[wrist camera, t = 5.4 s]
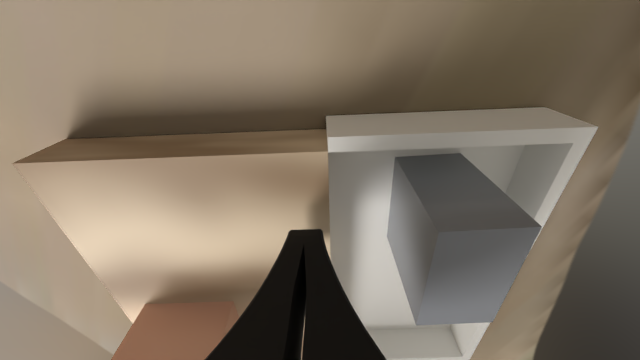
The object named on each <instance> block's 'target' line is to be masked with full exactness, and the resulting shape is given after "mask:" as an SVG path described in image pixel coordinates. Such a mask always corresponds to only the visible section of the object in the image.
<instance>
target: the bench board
mask: <svg viewBox="0 0 640 360" xmlns="http://www.w3.org/2000/svg"><path fill="white" fill-rule="evenodd" d="M12 164H13V165H14V167H15V168H16V169H17V171H18V172H19V173H20V175H21V176H22V177H23V179H24V180H25V181H26V183H27V184H28V185H29V187H30V188H31V189H32V191H33V192H34V193H35V195H36V196H37V197H38V199H39V200H40V201H41V203H42V204H43V205H44V207H45V208H46V209H47V210H48V212H49V213H50V214H51V216H52V217H53V218H54V220H55V221H56V222H57V224H58V225H59V226H60V228H61V229H62V230H63V232H64V233H65V234H66V236H67V237H68V238H69V240H70V241H71V242H72V244H73V245H74V246H75V248H76V249H77V250H78V252H79V253H80V254H81V256H82V257H83V258H84V260H85V261H86V262H87V264H88V265H89V266H90V267H91V269H92V270H93V271H94V273H95V274H96V275H97V277H98V278H99V279H100V281H101V282H102V283H103V285H104V286H105V287H106V289H107V290H108V291H109V293H110V294H111V295H112V297H113V298H114V299H115V301H116V302H117V303H118V305H119V306H120V307H121V309H122V310H123V311H124V313H125V314H126V315H127V317H128V318H129V319H130V321H131V322H132V323H134V321H135V320H136V318H137V316H138V315H139V313H140V312H141V310H142V308H143V307H144V305H145V304H163V303H194V302H225V301H234V304H235V307H236V310H237V313H238V315H239V317H240V316H241V315H242V313H243V312H244V311H245V309H246V308H247V306H248V305H249V304H250V302H251V301H252V299H253V298H254V296H255V295H256V293H257V292H258V290H259V288H260V287H261V285H262V284H263V282H264V280H265V279H266V277H267V275H268V274H269V272H270V270H271V268H272V267H273V265H274V263H275V261H276V259H277V257H278V255H279V253H280V251H281V249H282V247H283V245H284V243H285V240H286V238H287V235H288V232H289V231H290V230H303V229H321V230H322V231H323V236H324V241H325V245H326V249H327V252H328V255H329V257H330V260H331V256H330V213H329V170H328V145H327V133H326V129H310V130H285V131H259V132H234V133H209V134H183V135H158V136H133V137H108V138H82V139H65V140H62V141H60V142H58V143H56V144H54V145H52V146H49V147H47V148H45V149H43V150H41V151H38V152H36V153H34V154H32V155H30V156H28V157H25V158H23V159H21V160H19V161H17V162H14V163H12ZM304 326H305V321H304ZM303 340H304V330H303V339H302V350H301V360H302V353H303Z"/></svg>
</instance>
